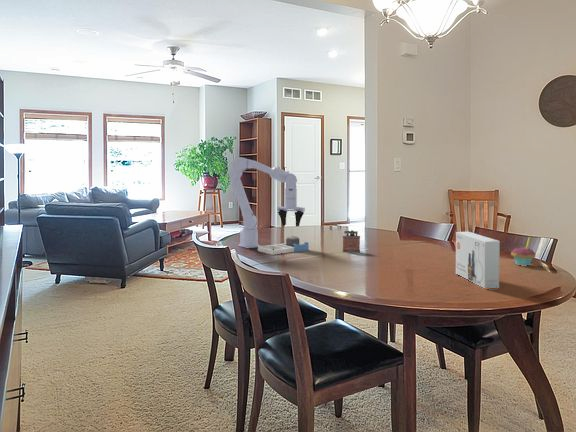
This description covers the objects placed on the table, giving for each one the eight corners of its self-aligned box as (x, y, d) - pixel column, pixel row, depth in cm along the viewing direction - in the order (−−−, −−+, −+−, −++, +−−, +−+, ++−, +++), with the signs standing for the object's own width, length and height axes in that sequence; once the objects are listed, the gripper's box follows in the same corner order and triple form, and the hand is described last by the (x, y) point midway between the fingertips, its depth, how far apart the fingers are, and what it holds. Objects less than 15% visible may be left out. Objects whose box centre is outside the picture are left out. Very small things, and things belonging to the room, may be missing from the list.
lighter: (359, 251, 210) (360, 230, 209) (360, 252, 207) (360, 231, 206) (342, 251, 211) (342, 229, 210) (342, 252, 208) (342, 230, 207)
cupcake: (532, 263, 182) (534, 234, 181) (536, 268, 174) (538, 237, 173) (509, 262, 185) (510, 233, 184) (511, 266, 177) (513, 236, 176)
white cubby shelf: (257, 250, 212) (257, 243, 211) (293, 246, 224) (293, 239, 224) (273, 255, 202) (273, 247, 201) (309, 249, 214) (309, 242, 214)
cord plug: (286, 249, 216) (286, 236, 215) (293, 248, 219) (293, 235, 219) (291, 250, 213) (291, 237, 213) (299, 249, 217) (299, 236, 216)
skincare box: (453, 274, 164) (455, 231, 163) (468, 274, 165) (469, 231, 163) (483, 290, 144) (485, 240, 142) (499, 289, 144) (502, 240, 142)
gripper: (273, 198, 221) (274, 225, 222) (299, 199, 214) (299, 227, 215) (281, 197, 227) (281, 224, 228) (306, 198, 220) (306, 226, 221)
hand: (290, 225), depth 222 cm, fingers open, 7 cm apart
